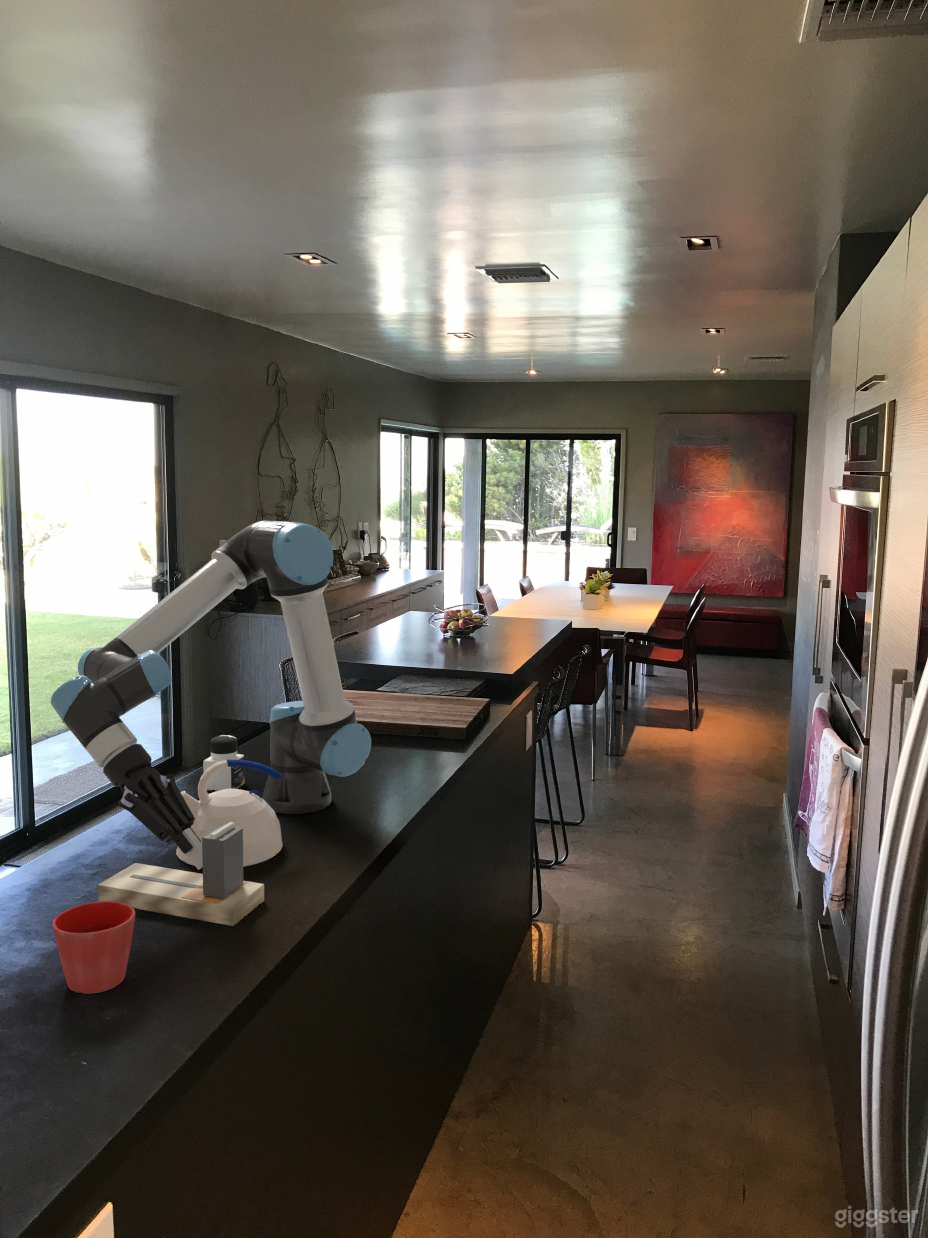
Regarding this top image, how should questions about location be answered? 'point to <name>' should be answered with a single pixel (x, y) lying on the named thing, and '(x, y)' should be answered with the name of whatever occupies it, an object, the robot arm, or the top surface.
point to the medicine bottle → (226, 776)
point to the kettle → (236, 814)
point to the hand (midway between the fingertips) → (205, 863)
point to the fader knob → (222, 861)
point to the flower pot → (94, 944)
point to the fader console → (178, 894)
